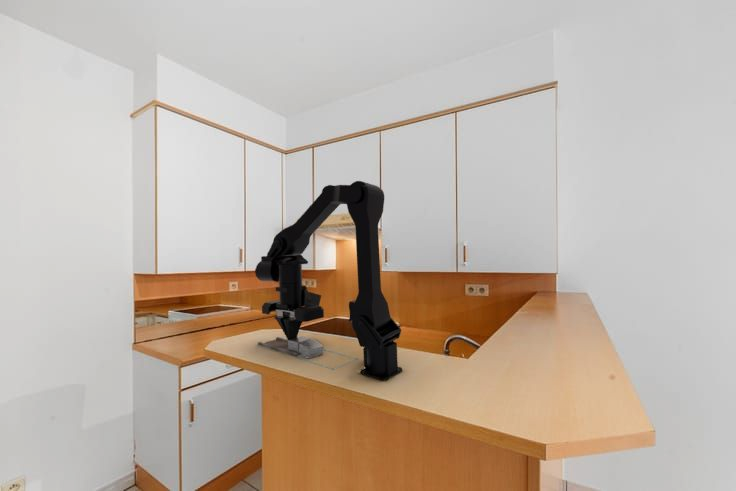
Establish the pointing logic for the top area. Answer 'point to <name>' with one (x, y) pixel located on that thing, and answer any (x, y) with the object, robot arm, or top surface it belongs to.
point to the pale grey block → (296, 343)
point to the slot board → (278, 346)
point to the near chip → (310, 349)
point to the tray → (329, 367)
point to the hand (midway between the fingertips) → (292, 343)
